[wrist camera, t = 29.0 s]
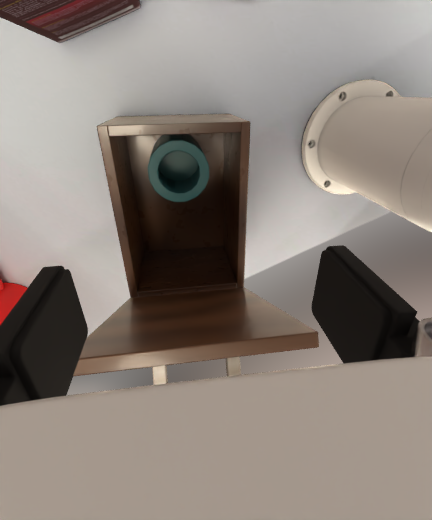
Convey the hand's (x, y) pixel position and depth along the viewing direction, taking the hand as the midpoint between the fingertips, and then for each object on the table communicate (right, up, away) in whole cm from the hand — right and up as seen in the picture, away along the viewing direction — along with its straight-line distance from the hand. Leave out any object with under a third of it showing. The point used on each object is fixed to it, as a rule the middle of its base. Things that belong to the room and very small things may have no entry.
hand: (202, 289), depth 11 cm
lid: (-1, -3, +11) cm, 12 cm away
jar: (-4, +13, +22) cm, 26 cm away
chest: (-4, +10, +25) cm, 27 cm away
